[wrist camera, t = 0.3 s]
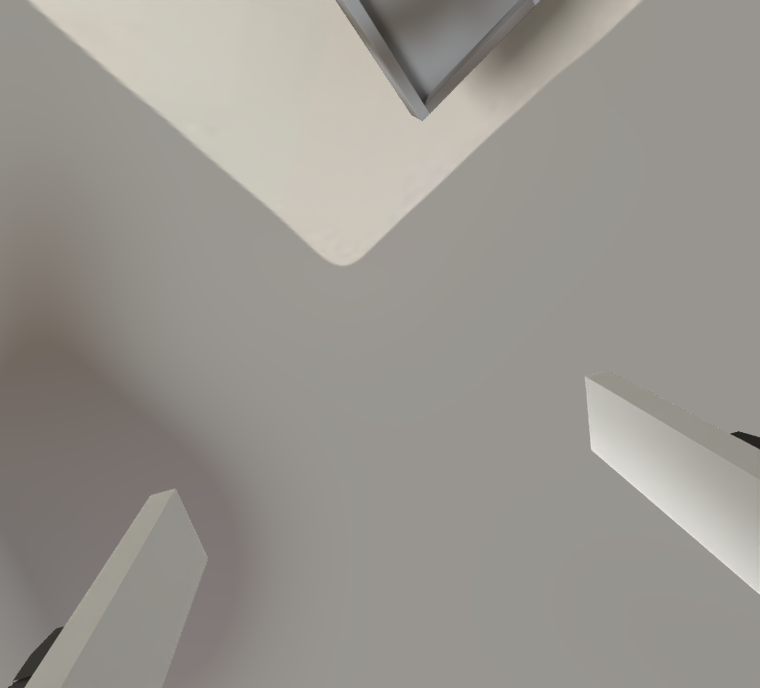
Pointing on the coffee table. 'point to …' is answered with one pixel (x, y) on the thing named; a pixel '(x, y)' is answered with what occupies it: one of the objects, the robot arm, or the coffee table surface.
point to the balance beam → (431, 41)
